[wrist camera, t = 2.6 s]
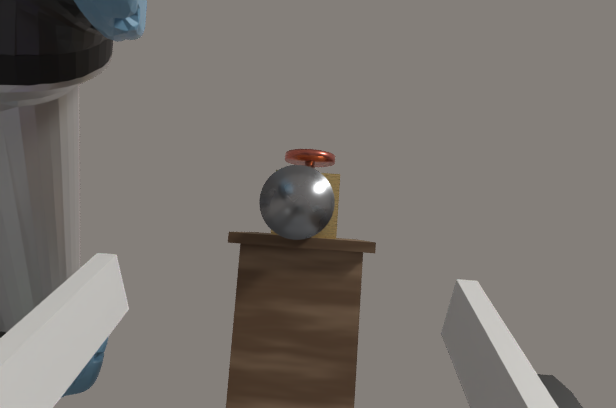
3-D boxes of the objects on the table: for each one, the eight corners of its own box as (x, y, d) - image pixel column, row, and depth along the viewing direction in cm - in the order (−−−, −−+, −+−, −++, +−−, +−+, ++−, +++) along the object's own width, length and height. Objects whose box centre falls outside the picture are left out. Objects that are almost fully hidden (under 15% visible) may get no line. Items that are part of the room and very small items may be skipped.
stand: (356, 589, 29) (375, 242, 32) (197, 573, 29) (228, 231, 32) (343, 473, 43) (357, 239, 46) (235, 463, 43) (254, 232, 46)
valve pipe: (353, 244, 20) (362, 83, 21) (235, 235, 20) (249, 77, 21) (332, 238, 44) (336, 164, 44) (278, 234, 44) (284, 160, 45)
